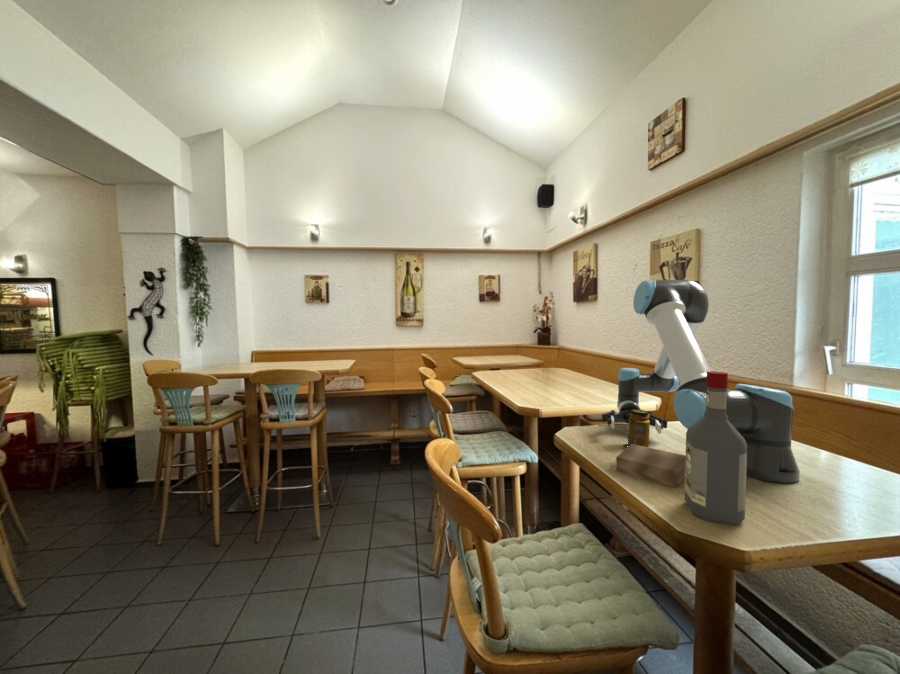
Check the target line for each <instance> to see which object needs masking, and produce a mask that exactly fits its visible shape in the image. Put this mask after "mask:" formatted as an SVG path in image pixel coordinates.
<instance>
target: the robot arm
mask: <svg viewBox="0 0 900 674" xmlns="http://www.w3.org/2000/svg"><path fill="white" fill-rule="evenodd" d="M632 302H633V303H632V304H633V309H634V312H635V313H636V314H638V315H644V316H645V318H646V320H647V322H648V323H649V324H650V325H651V324H652V325H654V326H655V329H656V332H657V334H658V336H659V338H660V340H661V343H662V349H661V351H660V354H659V357H658V358H657V361H656V364H655V366H654V369H653V370H652V373H651V372H648V373H643V372H640V370H639V369H638V368H632V367H622V368H620V369H619V371H618V379H617V381H618V382H617V383H618V384H617V385H618V392H617V393H618V394H617V402H616V404H617V406H616V407H617V409H618V412H617V411H616V410H614V409H612V410H610V411H609V412H605V413H603V414H601V422H603V423H605V422H607V425H608V426H610V427H611V429H612V430H614V429H615V423H617V422H622V423H623V422H624V423H626V424H628V425H629V418H630V411H631V410H633V409H639V410H642V409H641V408H640V406H639V404H640V403H639V401H640V400H639V398H640V393H642V392H644V393H645V392H646V393H651V392H652V393H670V392H675V391H676V393H675V394H674V397H673V400H672V401H673V402H672V403H673V404H674V405H673V411H674V414H675V417H677V420H678V421H679V422H680V424H681V426H683V427H684V428H685V429H687V430H688V428H689V427H690V426H692V425H693V424H694V423H696V422H697V421H698V420H700V419H701V418H702V417H703V416H704V412H705V411H706V397H707V387H706V373H707V372H709V371H712V370H711V367H710V365H709V363H708V361H707V360H706V358H705V355H704V354H703V351H702V349H701V347H700V346H699V343H698V341H697V340H696V338H695V337H696V336H695V333H696V331H697V328H699V327H698V326H699V325H700V324H703V323H704V322H705V319H706V317H707V315H708V312H709V303H710V302H709V297H708V294H707V292H706V290H705V288H703V286H701V284H699V283H698V282H696V281H693V280H690V279H689V280H688V279H673V280H672V279H649V280H644V281H641V282H640V283H639V284H638V285H637V286H636V289H635V292H634V296H633V301H632ZM794 409H795V408H794V405H793V397H792V395H791V394H790V393H789V392H788V391H785V390H781V389H776V388H771V387H764V386H759V385H752V384H745V383H737V384H736V385H735V387H734V389H729V388H726V414H727V416H728V419H727V420H728V421H729V422H730V423H731V424H732V425H733V426H734V428H735V429H736V430H737V431H738V432H739V433H740V434H741V435H742V436H743V438H744V439H745V441H746V443H747V468H746V477H750V478H754V479H758V480H761V481H767V482H772V483H780V484H781V483H782V484H785V483H786V484H791V483H792V484H793V483H797V482H799V481H800V473H801V472H800V467H799V465H798V463H797V461H796V458H795V455H794V452H793V450H792V433H793V419H794V418H793V415H794ZM648 417H649V418H648V420H649V421H650V426H652V427H655V430H656V432H657V433H658V434H659V435H661V434H662V430H664V429H667V428H668V420H666V419H665V418H661V417H659V416H656V415H654V414H653V413H651V412H650V413H648Z"/></svg>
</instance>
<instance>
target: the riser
mask: <svg viewBox="0 0 900 674" xmlns="http://www.w3.org/2000/svg"><path fill="white" fill-rule="evenodd" d="M685 459H686V454H681V453H677V452H676V453H675V452H671V451H666V450H662V449H657V448H654V447H653V448H648V447H644V446H639V445H634V444H631V445H630V446H628V447H627V448H626V449H623V450H622V452H620V453H619V454H618V455H617V456H616V459H615V461H616V462H615V463H616V464H615V467H616V468H615V471H616V472H618V473H622V474H625V475H627V476H632V477H635V478H639V479H643V480H646V481H650V482H655V483H658V484H662V485H665V486H669V487H673V488H677V487H678V485H679V484H680V482H681V481H682V479H683V476H685Z"/></svg>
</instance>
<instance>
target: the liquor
mask: <svg viewBox="0 0 900 674" xmlns="http://www.w3.org/2000/svg"><path fill="white" fill-rule="evenodd" d="M728 375H729V373H728V372H723V371H713V370H711V371H709V372H707V373H706V387H707V397H706V411H705V412H704V416H703V417H702V418H701V419H700V420H698V421H697V422H696V423H694V424H693V425H692V426H690V427H689V428H688V429H687V431H686V433H685V455H686V459H685V474H684V501H685V502H686V505H687V506H688V508H689V510H690V511H691V513H692V514H693V516H695V517H698V518H700V519H702V520H704V521H707V522H713V523H719V524H725V525H733V526H736V525H738V524H740V523H742V522H744V520H745V519H746V497H747V494H746V493H747V476H746V468H747V443H746V441H745V439H744V438H743V436H742V435H741V434H740V433H739V432H738V431H737V430H736V429H735V428H734V426H733V425H732V424H731V423H730V422H729V421H728V420H727V419H728V416H727V414H726V388H727V389H729V388H728V387H729V385H728V384H729V381H728V380H729V379H728V377H729V376H728Z"/></svg>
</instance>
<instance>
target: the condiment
mask: <svg viewBox="0 0 900 674" xmlns="http://www.w3.org/2000/svg"><path fill="white" fill-rule="evenodd" d="M648 414H649V412H648V411H647V410H644V409H641V410H639V409H633V410H631V411H630V418H629V424H628V428H627V432H628V434H627V443H628V444H627V443H625V444H623V445H621V446H620V448H622V449H623V450H625V449H626V448H627V446H630V445H631V444H634V445H639V446H644V447H648V448H653V449H654V446H651V445H650V426H651V425H650V421H649V420H648V418H649V417H648ZM626 444H627V445H626Z"/></svg>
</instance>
